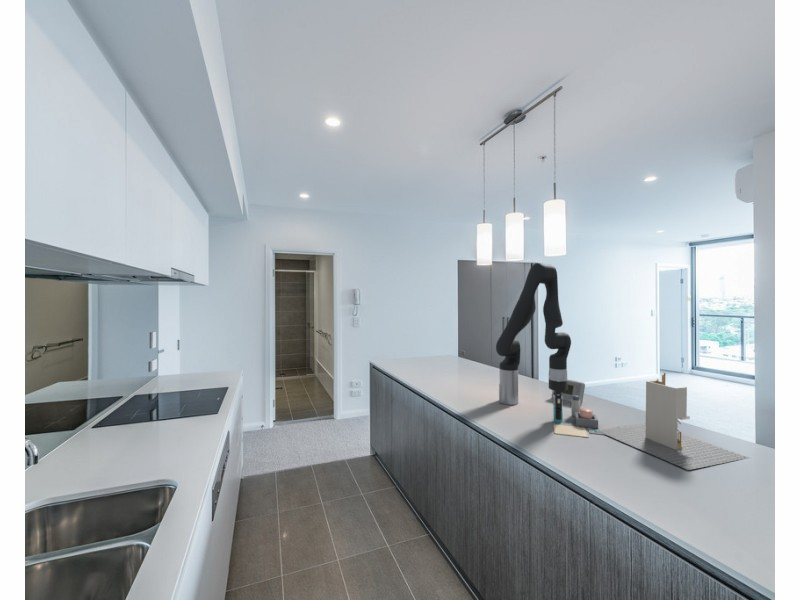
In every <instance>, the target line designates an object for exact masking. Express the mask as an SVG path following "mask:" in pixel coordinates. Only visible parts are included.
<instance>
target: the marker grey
mask: <svg viewBox="0 0 800 600" xmlns="http://www.w3.org/2000/svg"><path fill="white" fill-rule="evenodd" d="M580 409H581V404H580V396H578V395H572V403H571V417H573V418H575V412H576V413H580Z"/></svg>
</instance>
